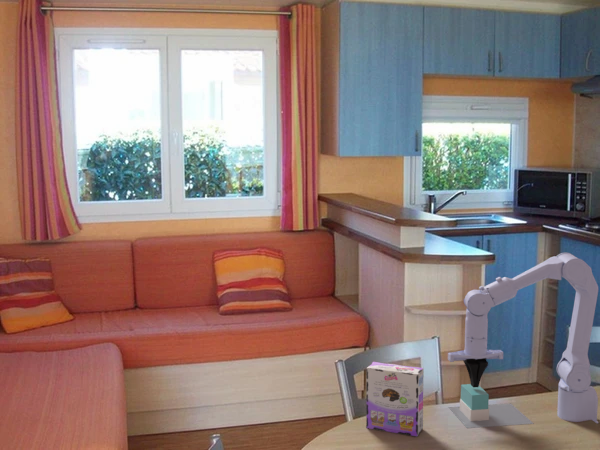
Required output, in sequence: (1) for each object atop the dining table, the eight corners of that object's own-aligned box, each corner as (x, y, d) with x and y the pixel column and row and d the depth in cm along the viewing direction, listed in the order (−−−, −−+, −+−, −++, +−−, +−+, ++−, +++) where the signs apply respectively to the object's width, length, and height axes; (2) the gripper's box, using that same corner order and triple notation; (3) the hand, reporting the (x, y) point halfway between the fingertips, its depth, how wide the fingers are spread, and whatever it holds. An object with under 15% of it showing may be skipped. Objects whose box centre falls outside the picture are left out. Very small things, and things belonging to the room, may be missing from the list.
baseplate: (510, 406, 204) (511, 392, 204) (533, 427, 190) (534, 412, 190) (448, 410, 202) (448, 396, 201) (466, 431, 188) (467, 416, 187)
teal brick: (476, 397, 200) (477, 383, 200) (488, 409, 192) (488, 394, 192) (460, 398, 200) (461, 384, 199) (471, 410, 192) (472, 395, 191)
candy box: (423, 428, 190) (424, 367, 188) (417, 437, 185) (418, 374, 182) (372, 420, 196) (373, 360, 193) (365, 428, 190) (365, 366, 188)
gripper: (496, 330, 198) (494, 379, 200) (444, 333, 196) (443, 382, 198) (507, 338, 191) (505, 388, 193) (453, 340, 189) (452, 391, 191)
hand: (474, 386), depth 195 cm, fingers closed
